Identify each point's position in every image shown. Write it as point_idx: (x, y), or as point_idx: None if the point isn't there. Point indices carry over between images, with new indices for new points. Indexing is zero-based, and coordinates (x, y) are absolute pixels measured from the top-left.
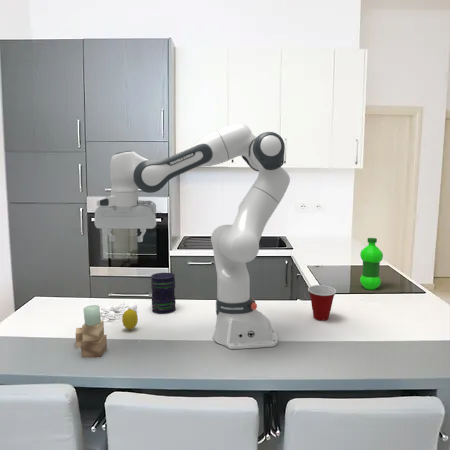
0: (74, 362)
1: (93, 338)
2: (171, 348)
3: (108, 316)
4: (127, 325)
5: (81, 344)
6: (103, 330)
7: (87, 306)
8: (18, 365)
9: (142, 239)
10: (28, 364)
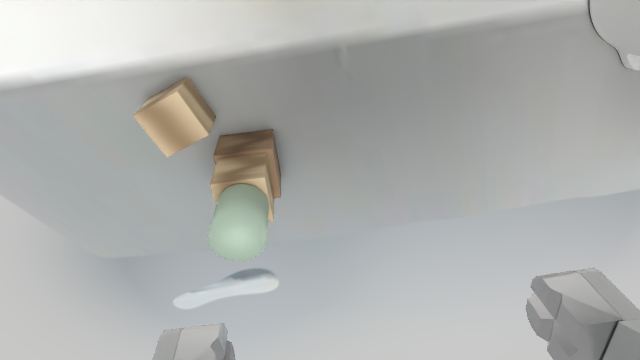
0: None
1: None
2: (456, 90)
3: None
4: None
5: None
6: (266, 163)
7: (211, 230)
8: (112, 241)
9: (604, 292)
10: (131, 234)
